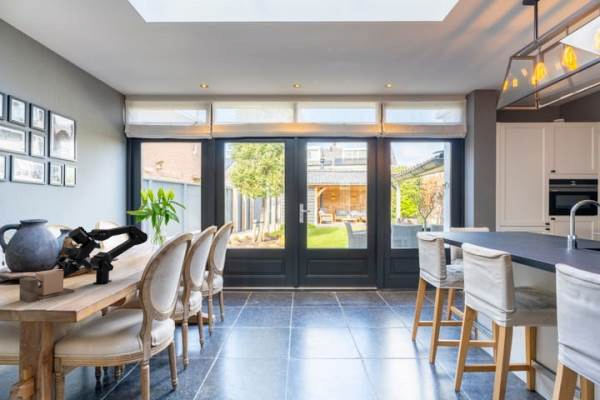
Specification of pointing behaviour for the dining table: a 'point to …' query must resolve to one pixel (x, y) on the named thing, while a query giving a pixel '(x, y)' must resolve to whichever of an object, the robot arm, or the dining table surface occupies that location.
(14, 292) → the dining table surface
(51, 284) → the pink box
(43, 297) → the stop block
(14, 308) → the dining table surface
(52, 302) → the dining table surface
